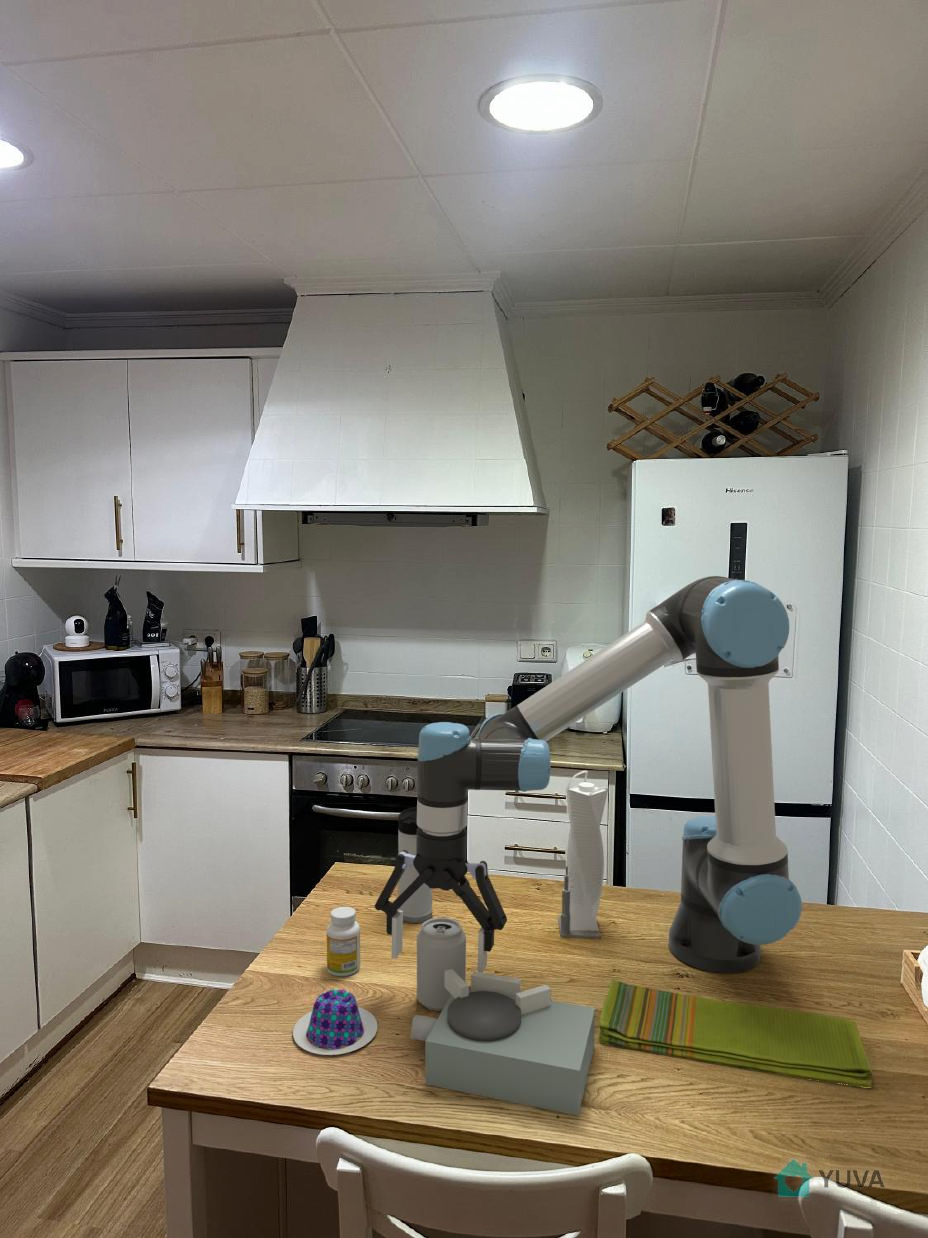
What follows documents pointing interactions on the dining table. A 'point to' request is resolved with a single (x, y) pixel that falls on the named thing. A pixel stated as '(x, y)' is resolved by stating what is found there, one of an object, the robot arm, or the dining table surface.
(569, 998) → the dining table surface
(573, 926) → the skyscraper
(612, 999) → the dish towel
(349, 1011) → the pudding
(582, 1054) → the gearbox
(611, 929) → the dining table surface
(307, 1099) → the dining table surface
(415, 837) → the travel mug
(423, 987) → the can
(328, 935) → the supplement bottle
